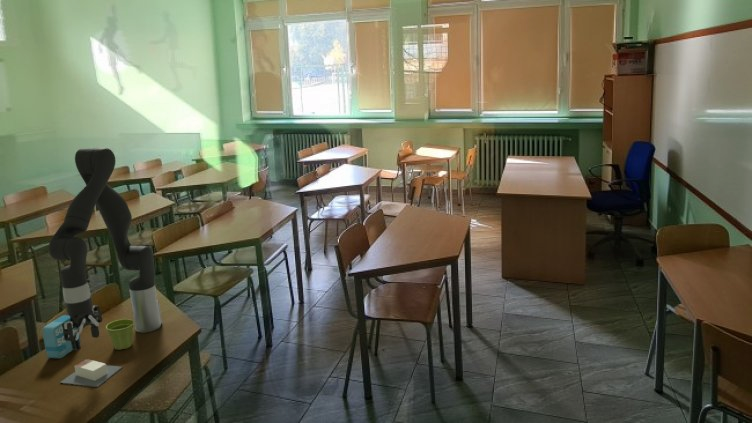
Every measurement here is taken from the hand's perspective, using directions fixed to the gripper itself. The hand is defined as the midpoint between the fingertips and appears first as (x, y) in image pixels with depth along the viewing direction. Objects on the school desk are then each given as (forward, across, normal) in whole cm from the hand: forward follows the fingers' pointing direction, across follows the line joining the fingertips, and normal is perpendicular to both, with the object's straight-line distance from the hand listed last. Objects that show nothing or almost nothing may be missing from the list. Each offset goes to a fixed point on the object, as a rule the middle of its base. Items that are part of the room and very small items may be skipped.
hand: (86, 343), depth 180 cm
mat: (+12, 0, 0) cm, 12 cm away
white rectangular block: (+11, 0, 0) cm, 11 cm away
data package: (+12, +12, +22) cm, 28 cm away
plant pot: (+12, +20, +3) cm, 23 cm away
